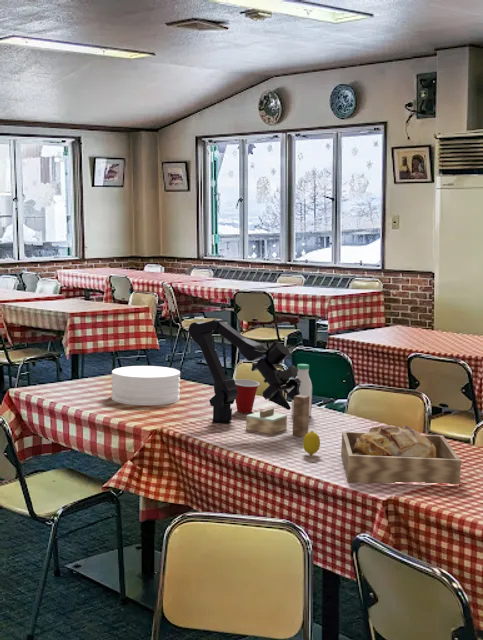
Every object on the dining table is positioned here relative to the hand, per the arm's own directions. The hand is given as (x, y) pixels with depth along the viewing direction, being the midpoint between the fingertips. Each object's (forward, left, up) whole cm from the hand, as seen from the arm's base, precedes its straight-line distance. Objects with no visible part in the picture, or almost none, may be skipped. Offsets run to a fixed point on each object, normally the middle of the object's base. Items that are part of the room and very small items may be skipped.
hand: (296, 407), depth 326 cm
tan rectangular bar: (+2, -1, -10) cm, 10 cm away
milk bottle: (+3, +32, -10) cm, 33 cm away
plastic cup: (-19, +35, -10) cm, 41 cm away
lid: (-10, +6, -5) cm, 13 cm away
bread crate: (+31, -42, -10) cm, 53 cm away
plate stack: (-61, +53, -10) cm, 81 cm away
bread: (+29, -42, -10) cm, 52 cm away
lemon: (+5, -28, -10) cm, 30 cm away
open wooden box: (-10, +6, -10) cm, 15 cm away
